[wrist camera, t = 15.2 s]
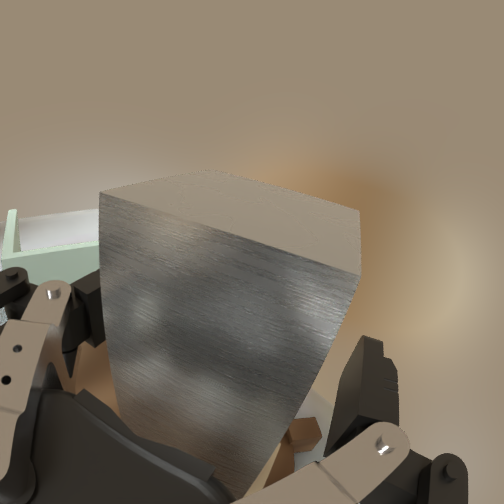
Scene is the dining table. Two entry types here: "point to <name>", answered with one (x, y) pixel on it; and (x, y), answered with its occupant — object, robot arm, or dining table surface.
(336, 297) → the brushed metal block
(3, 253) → the l-shaped corner panel
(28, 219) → the dining table surface
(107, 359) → the sprocket plate
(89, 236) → the dining table surface
